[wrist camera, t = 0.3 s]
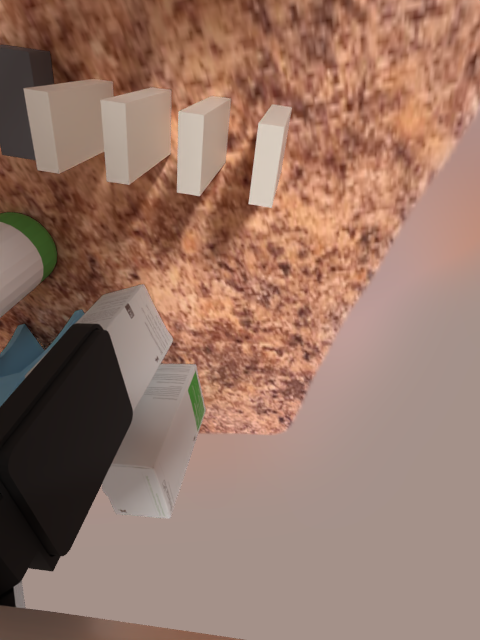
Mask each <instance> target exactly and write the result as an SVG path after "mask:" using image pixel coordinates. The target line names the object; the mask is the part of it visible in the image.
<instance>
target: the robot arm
mask: <svg viewBox="0 0 480 640" xmlns="http://www.w3.org/2000/svg"><path fill="white" fill-rule="evenodd" d="M132 418H133V409H132V405H131V402H130V399H129V396H128V392H127V389H126V386H125V383H124V379H123V376H122V373H121V370H120V366H119V363H118V360H117V357H116V353H115V350H114V347H113V344H112V340H111V337H110V334H109V332H108V331H107V330H103V328H102V326H101V325H99V324H90V323H76V324H73V325H72V326H71V327H70V328H69V329H68V330H67V331H66V332H65V334H64V335H63V336H62V337H61V338H60V339H59V340H58V342H57V343H56V344H55V345H54V346H53V347H52V348H51V350H50V351H49V352H48V353H47V354H46V355H45V356H44V358H43V359H42V360H41V361H40V362H39V363H38V364H37V366H36V367H35V368H34V369H33V370H32V371H31V372H30V373H29V375H28V376H27V377H26V378H25V379H24V380H23V381H22V383H21V384H20V385H19V386H18V387H17V388H16V389H15V391H14V392H13V393H12V394H11V395H10V396H9V397H8V399H7V400H6V401H5V402H4V403H3V404H2V405H1V407H0V640H243V639H236V638H229V637H222V636H216V635H209V634H202V633H195V632H188V631H182V630H174V629H168V628H161V627H153V626H147V625H140V624H133V623H126V622H119V621H112V620H105V619H98V618H92V617H84V616H78V615H70V614H64V613H57V612H50V611H42V610H33V609H25V602H24V595H23V587H22V578H23V577H24V575H25V573H26V571H27V569H28V568H31V569H39V570H47V571H53V570H54V568H55V566H56V564H57V562H58V560H59V558H60V556H64V555H66V554H67V552H68V551H69V550H70V548H71V547H72V544H73V542H74V540H75V538H76V536H77V534H78V532H79V530H80V528H81V526H82V524H83V522H84V520H85V518H86V516H87V514H88V511H89V509H90V507H91V505H92V503H93V501H94V499H95V497H96V495H97V493H98V491H99V489H100V487H101V485H102V483H103V480H104V478H105V476H106V474H107V472H108V470H109V468H110V466H111V464H112V462H113V460H114V458H115V456H116V454H117V452H118V449H119V447H120V445H121V443H122V441H123V439H124V437H125V435H126V433H127V431H128V429H129V427H130V425H131V422H132Z"/></svg>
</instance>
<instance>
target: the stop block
mask: <svg viewBox="0 0 480 640" xmlns="http://www.w3.org/2000/svg"><path fill="white" fill-rule="evenodd" d="M52 84H54V79H53V71H52V64H51V56H50V51H44V50H37V49H30V48H22V47H15V46H8V45H0V146H1V151H2V155H6V156H13V157H19V158H25V159H32V160H36V158H35V153H34V147H33V141H32V135H31V129H30V124H29V118H28V112H27V106H26V101H25V95H24V89H23V88H30V87H38V86H45V85H52Z"/></svg>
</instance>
